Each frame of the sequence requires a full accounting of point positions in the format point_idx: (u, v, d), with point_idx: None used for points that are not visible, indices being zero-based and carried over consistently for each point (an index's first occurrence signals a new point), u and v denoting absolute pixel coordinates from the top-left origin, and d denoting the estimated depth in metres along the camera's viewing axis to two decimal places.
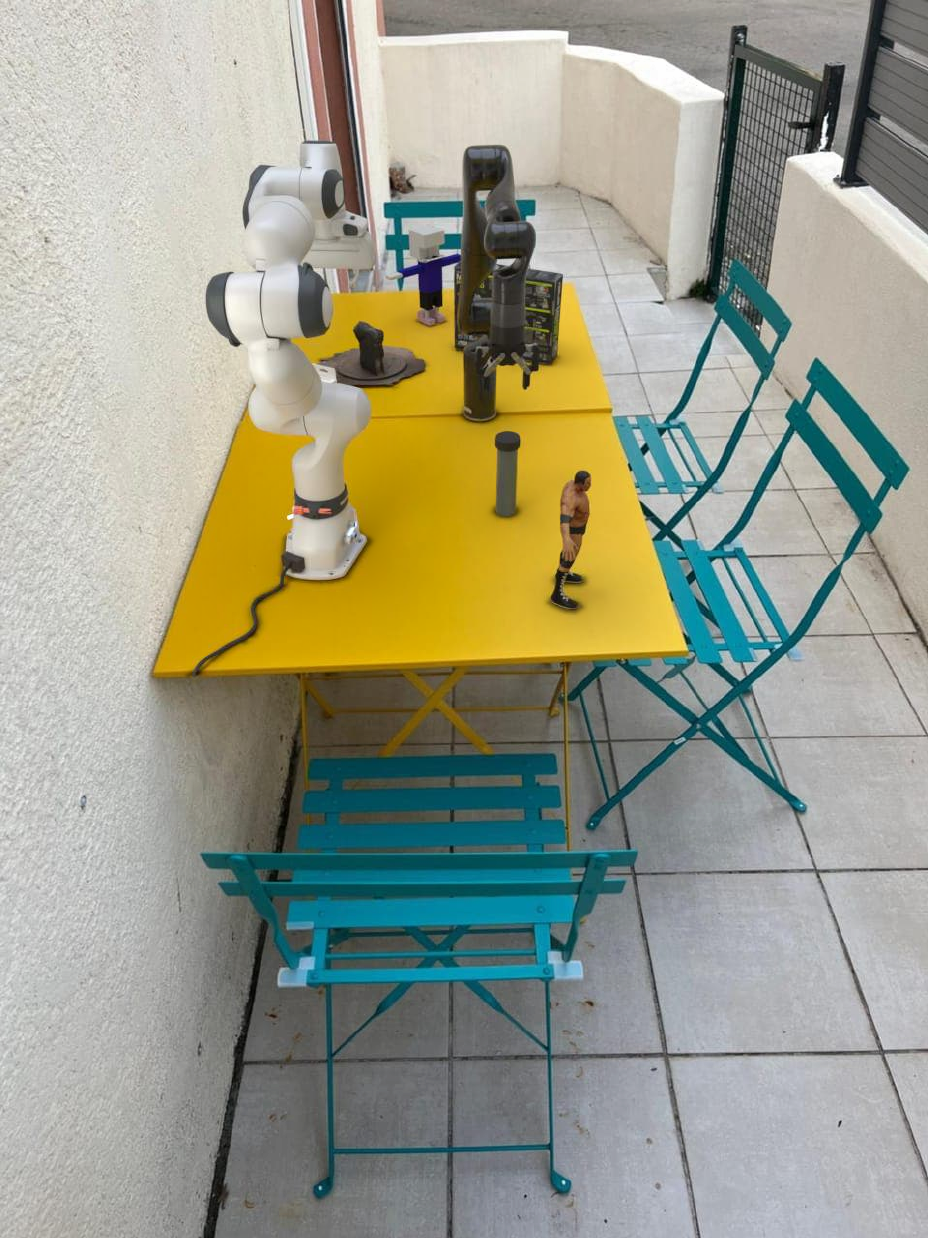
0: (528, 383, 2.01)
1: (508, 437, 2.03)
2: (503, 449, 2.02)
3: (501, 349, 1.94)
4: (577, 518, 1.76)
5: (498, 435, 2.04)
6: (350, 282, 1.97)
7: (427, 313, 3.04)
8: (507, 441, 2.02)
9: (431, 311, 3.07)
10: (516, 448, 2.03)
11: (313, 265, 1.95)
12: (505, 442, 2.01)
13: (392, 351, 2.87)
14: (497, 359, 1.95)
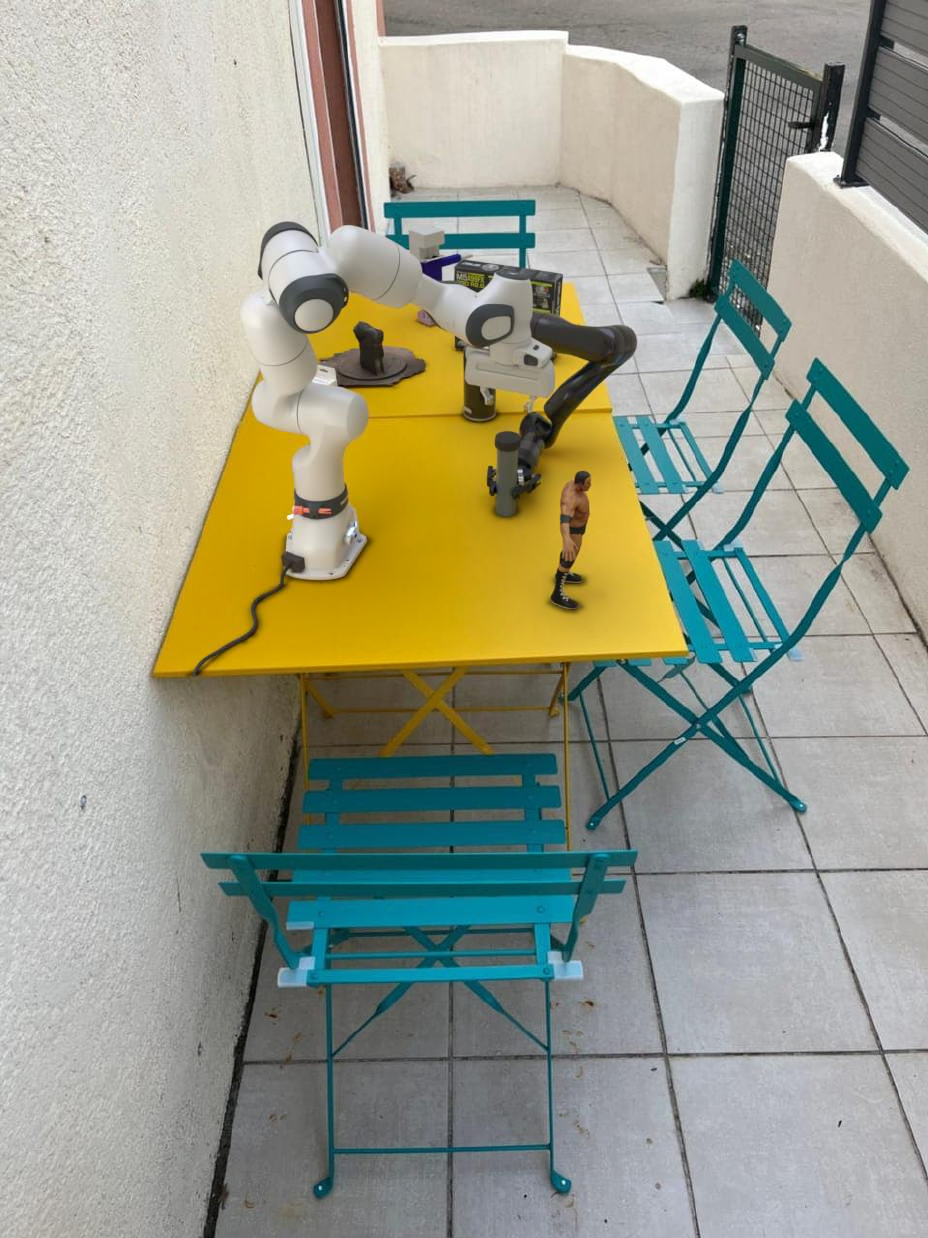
0: None
1: (508, 437, 2.03)
2: (503, 449, 2.02)
3: None
4: (577, 518, 1.76)
5: (498, 435, 2.04)
6: (525, 406, 1.96)
7: None
8: (507, 441, 2.02)
9: None
10: (516, 448, 2.03)
11: (491, 386, 1.95)
12: (505, 442, 2.01)
13: (392, 351, 2.87)
14: None
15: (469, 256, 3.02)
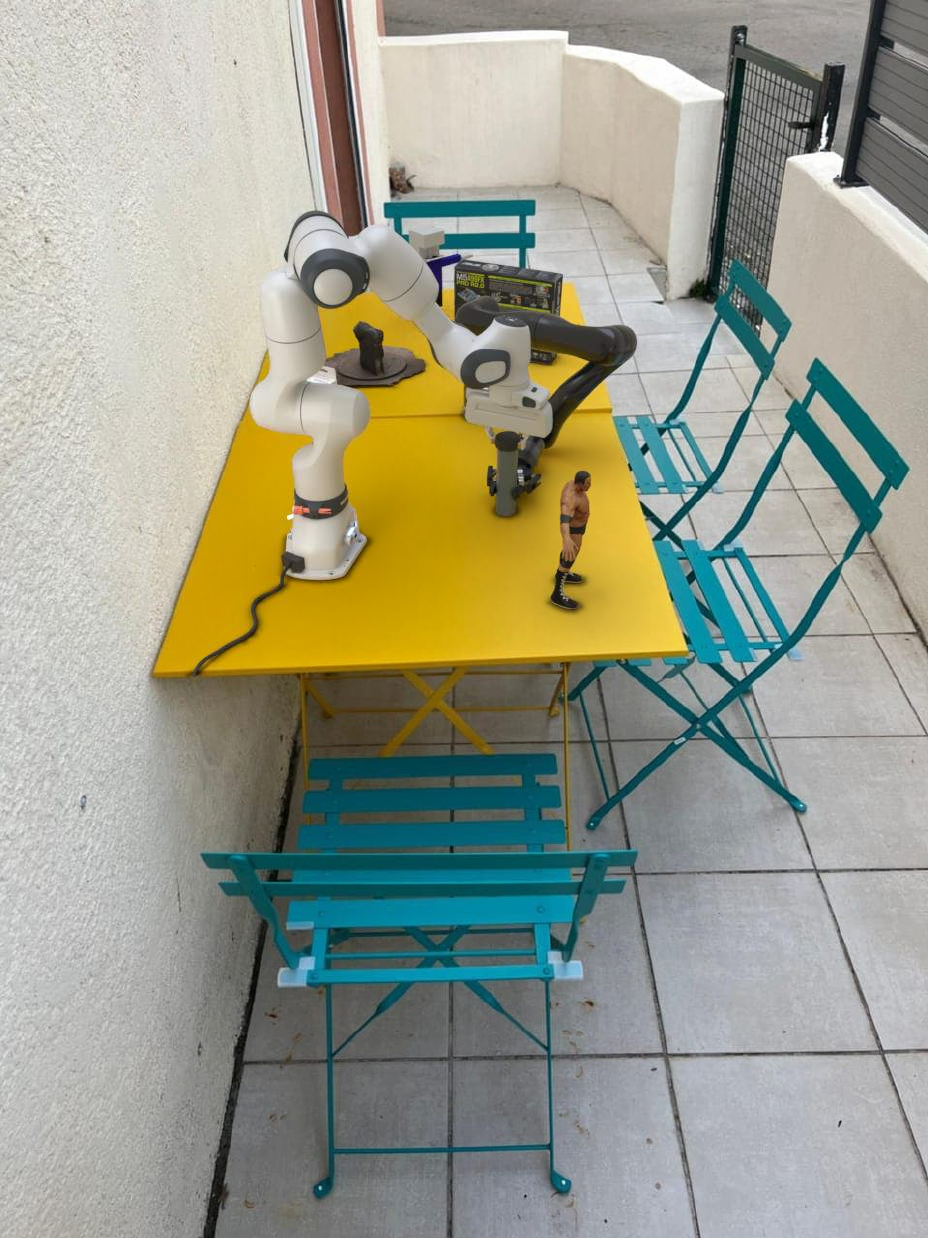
0: None
1: (508, 437, 2.03)
2: (503, 449, 2.02)
3: None
4: (577, 518, 1.76)
5: (498, 435, 2.04)
6: (518, 444, 2.02)
7: None
8: (507, 441, 2.02)
9: None
10: (516, 448, 2.03)
11: (491, 425, 2.01)
12: (505, 442, 2.01)
13: (392, 351, 2.87)
14: None
15: (469, 256, 3.02)
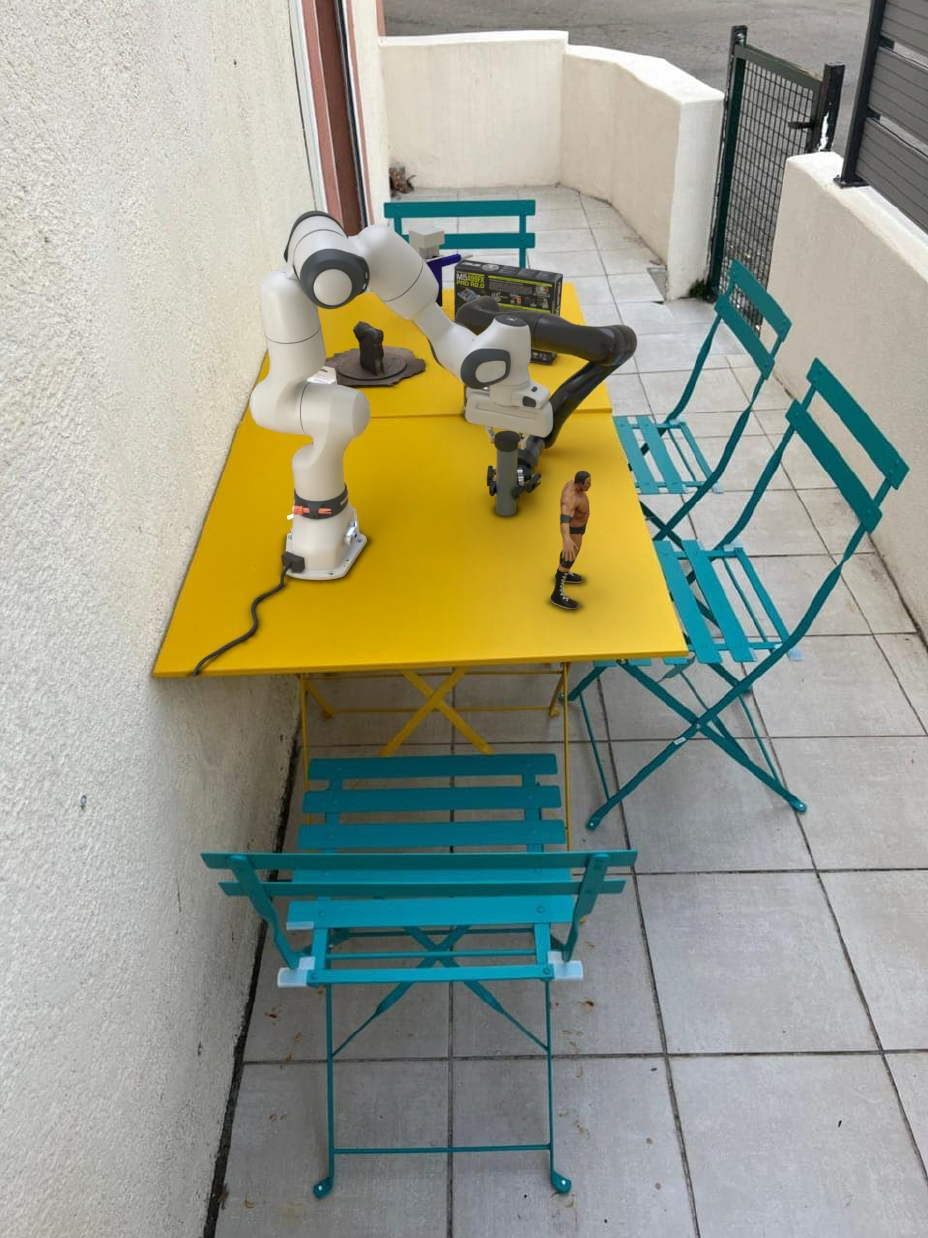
0: None
1: (508, 436, 2.03)
2: None
3: None
4: (577, 518, 1.76)
5: (505, 441, 2.01)
6: (518, 443, 2.02)
7: None
8: (516, 436, 2.03)
9: None
10: None
11: (491, 425, 2.01)
12: (518, 437, 2.03)
13: (392, 351, 2.87)
14: None
15: (469, 256, 3.02)
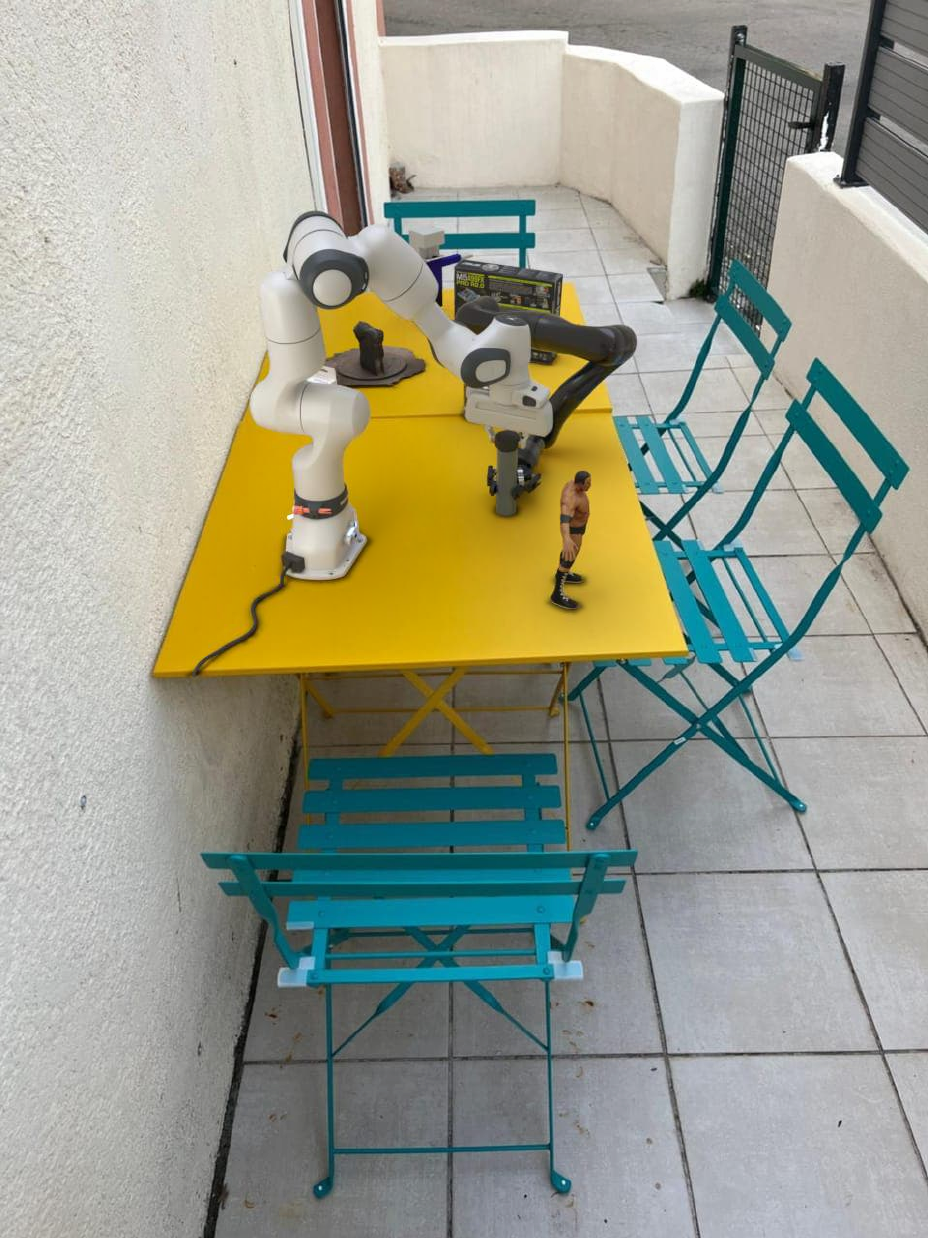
0: None
1: (506, 436, 2.03)
2: None
3: None
4: (577, 518, 1.76)
5: (517, 436, 2.03)
6: (518, 443, 2.02)
7: None
8: (504, 432, 2.04)
9: None
10: None
11: (491, 424, 2.01)
12: (506, 430, 2.05)
13: (392, 351, 2.87)
14: None
15: (469, 256, 3.02)
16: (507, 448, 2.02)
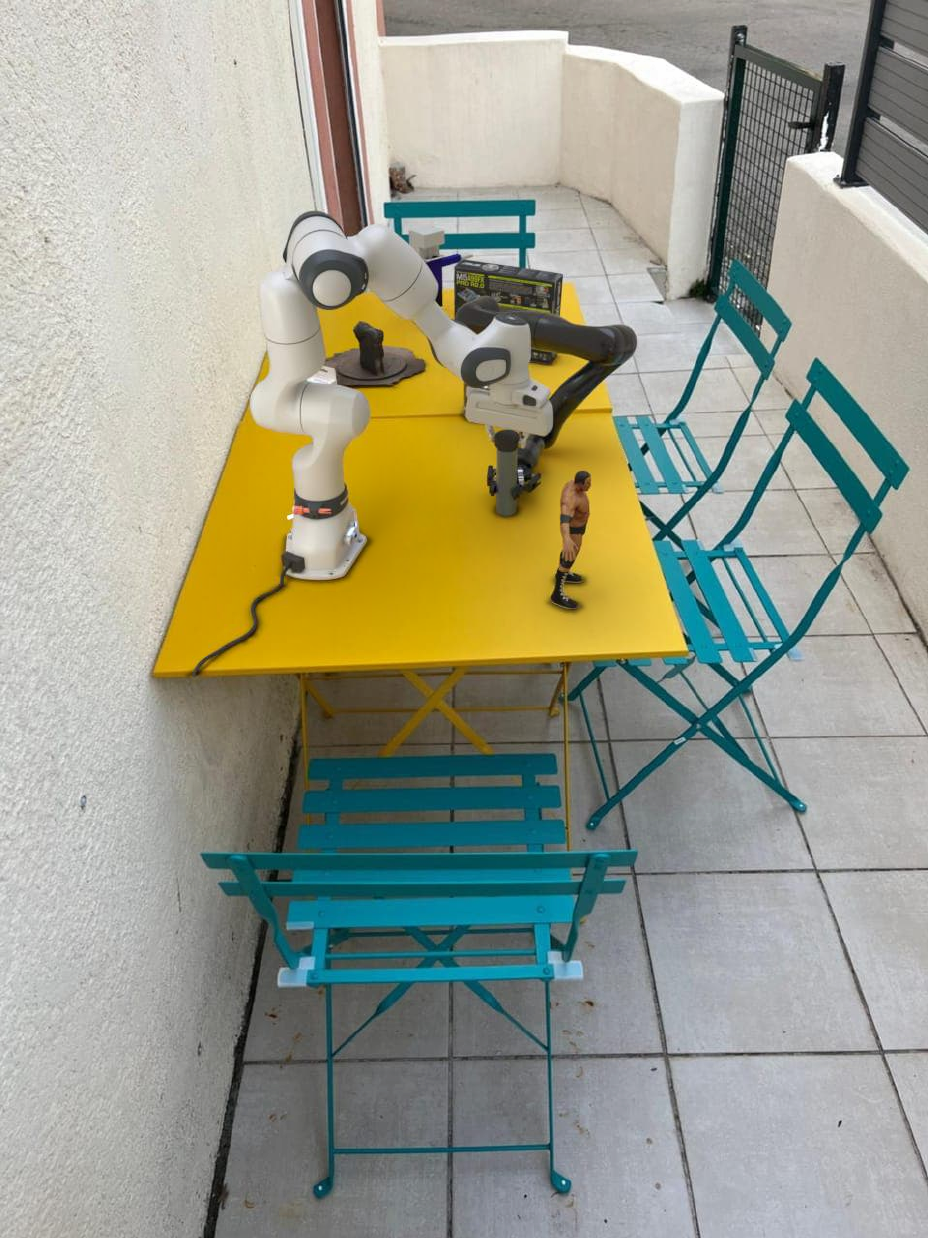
0: None
1: (506, 436, 2.02)
2: (494, 443, 2.04)
3: None
4: (577, 518, 1.76)
5: (505, 430, 2.04)
6: (519, 442, 2.02)
7: None
8: (499, 437, 2.02)
9: None
10: (503, 449, 2.02)
11: (491, 424, 2.01)
12: (496, 437, 2.02)
13: (392, 351, 2.87)
14: None
15: (469, 256, 3.02)
16: None
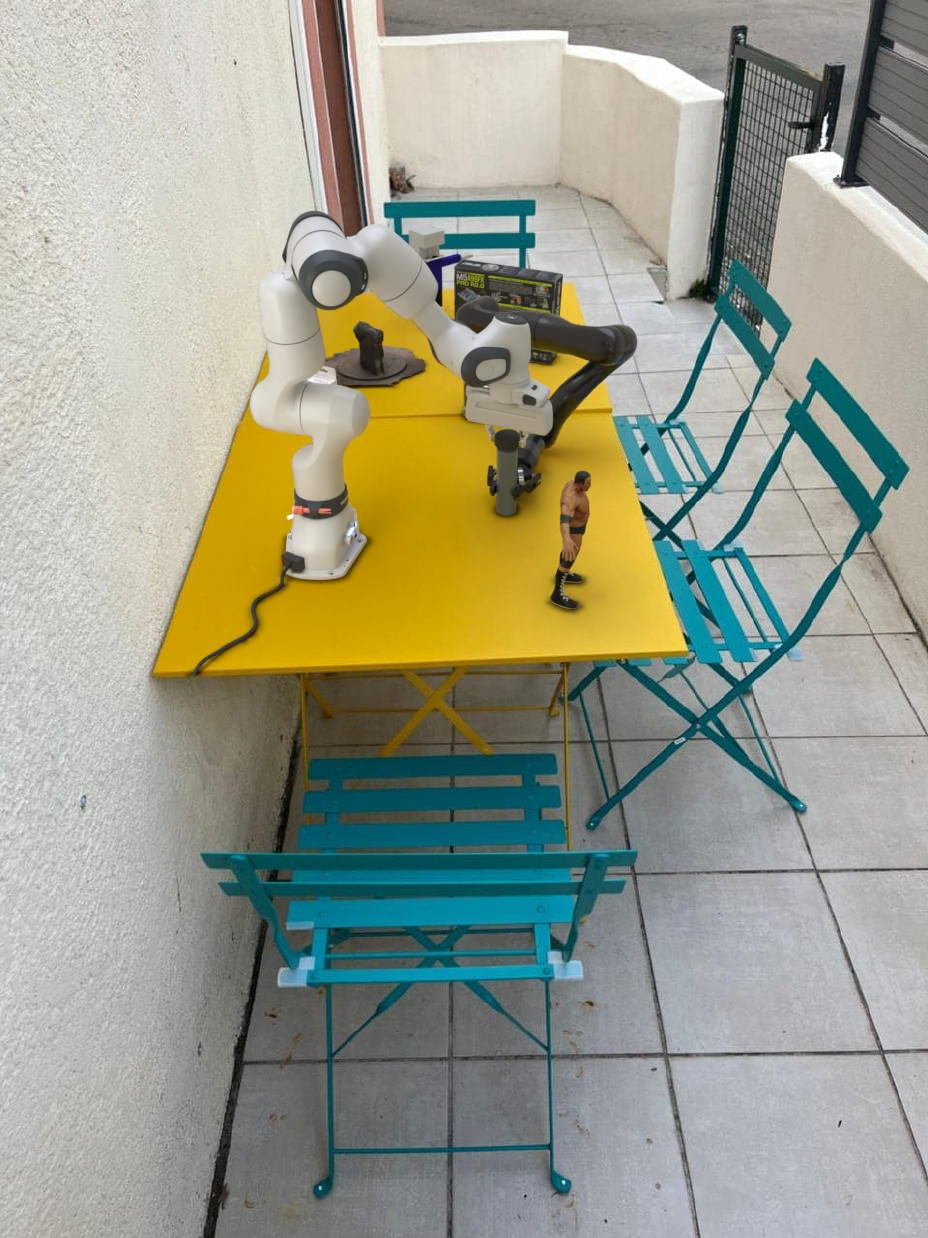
0: None
1: (508, 435, 2.02)
2: (511, 448, 2.02)
3: None
4: (577, 518, 1.76)
5: (498, 437, 2.02)
6: (519, 442, 2.02)
7: None
8: (512, 439, 2.01)
9: None
10: None
11: (491, 423, 2.01)
12: (512, 440, 2.01)
13: (392, 351, 2.87)
14: None
15: (469, 256, 3.02)
16: None
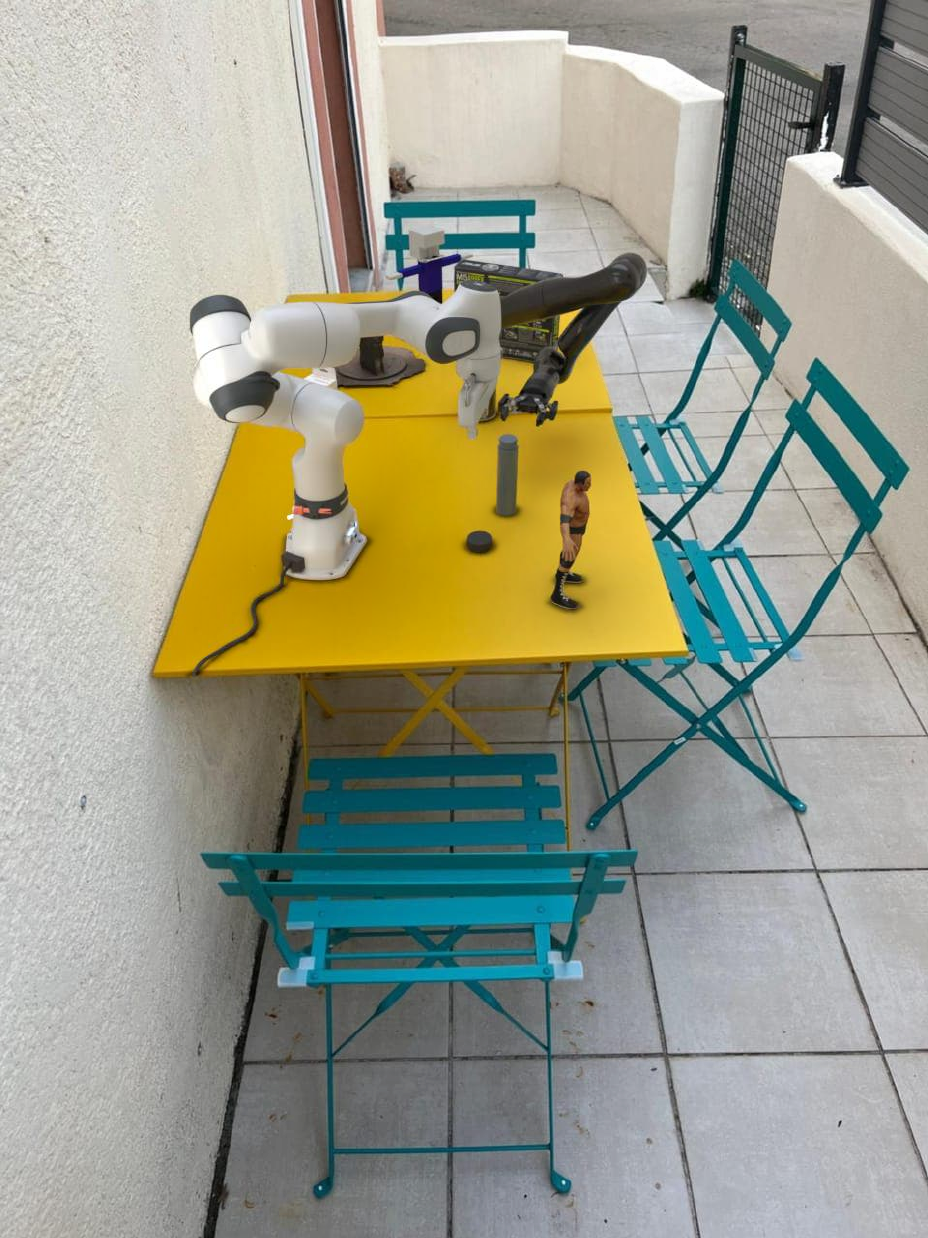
0: None
1: (479, 536, 2.04)
2: None
3: None
4: (577, 518, 1.76)
5: (484, 542, 2.02)
6: (487, 411, 1.87)
7: None
8: (485, 534, 2.05)
9: None
10: None
11: (483, 411, 1.79)
12: (488, 534, 2.05)
13: (392, 351, 2.87)
14: None
15: (469, 256, 3.02)
16: (468, 546, 2.04)
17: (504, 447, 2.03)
